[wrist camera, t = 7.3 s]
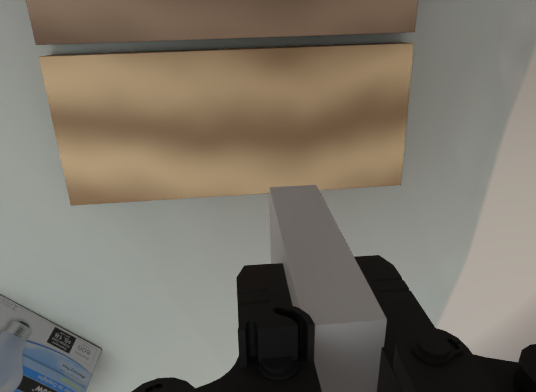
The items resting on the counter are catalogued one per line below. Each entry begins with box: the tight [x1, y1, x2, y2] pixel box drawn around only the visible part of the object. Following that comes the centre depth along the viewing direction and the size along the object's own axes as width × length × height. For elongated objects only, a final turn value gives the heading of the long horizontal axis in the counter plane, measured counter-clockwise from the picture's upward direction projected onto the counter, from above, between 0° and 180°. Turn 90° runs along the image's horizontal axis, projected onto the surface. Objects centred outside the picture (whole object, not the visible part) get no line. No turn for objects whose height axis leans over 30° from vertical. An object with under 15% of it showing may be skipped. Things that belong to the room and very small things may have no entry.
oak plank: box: [39, 42, 414, 205], centre depth 30 cm, size 10×24×2 cm, turn 92°
